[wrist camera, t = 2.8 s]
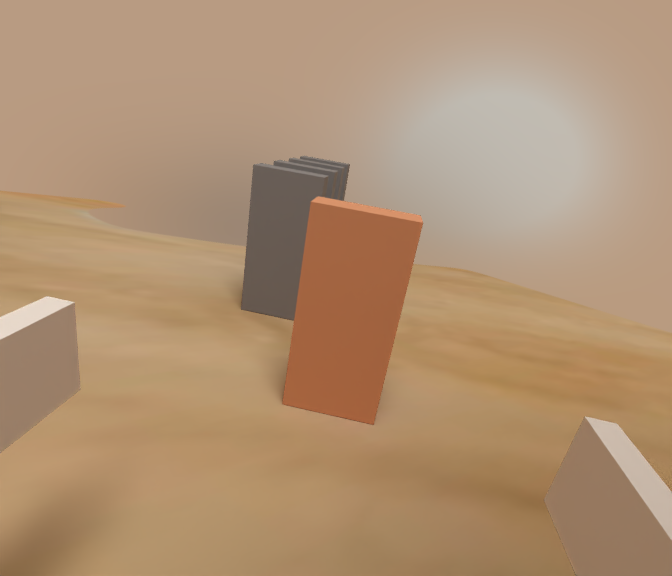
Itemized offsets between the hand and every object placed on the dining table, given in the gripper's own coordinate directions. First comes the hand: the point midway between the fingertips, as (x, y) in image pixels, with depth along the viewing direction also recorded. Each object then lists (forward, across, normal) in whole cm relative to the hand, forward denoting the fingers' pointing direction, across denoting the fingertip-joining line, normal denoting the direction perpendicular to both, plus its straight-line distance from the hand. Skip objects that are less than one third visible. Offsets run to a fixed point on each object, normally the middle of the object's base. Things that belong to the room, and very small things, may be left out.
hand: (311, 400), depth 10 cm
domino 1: (+20, -6, -8) cm, 22 cm away
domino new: (+10, 0, -8) cm, 13 cm away
